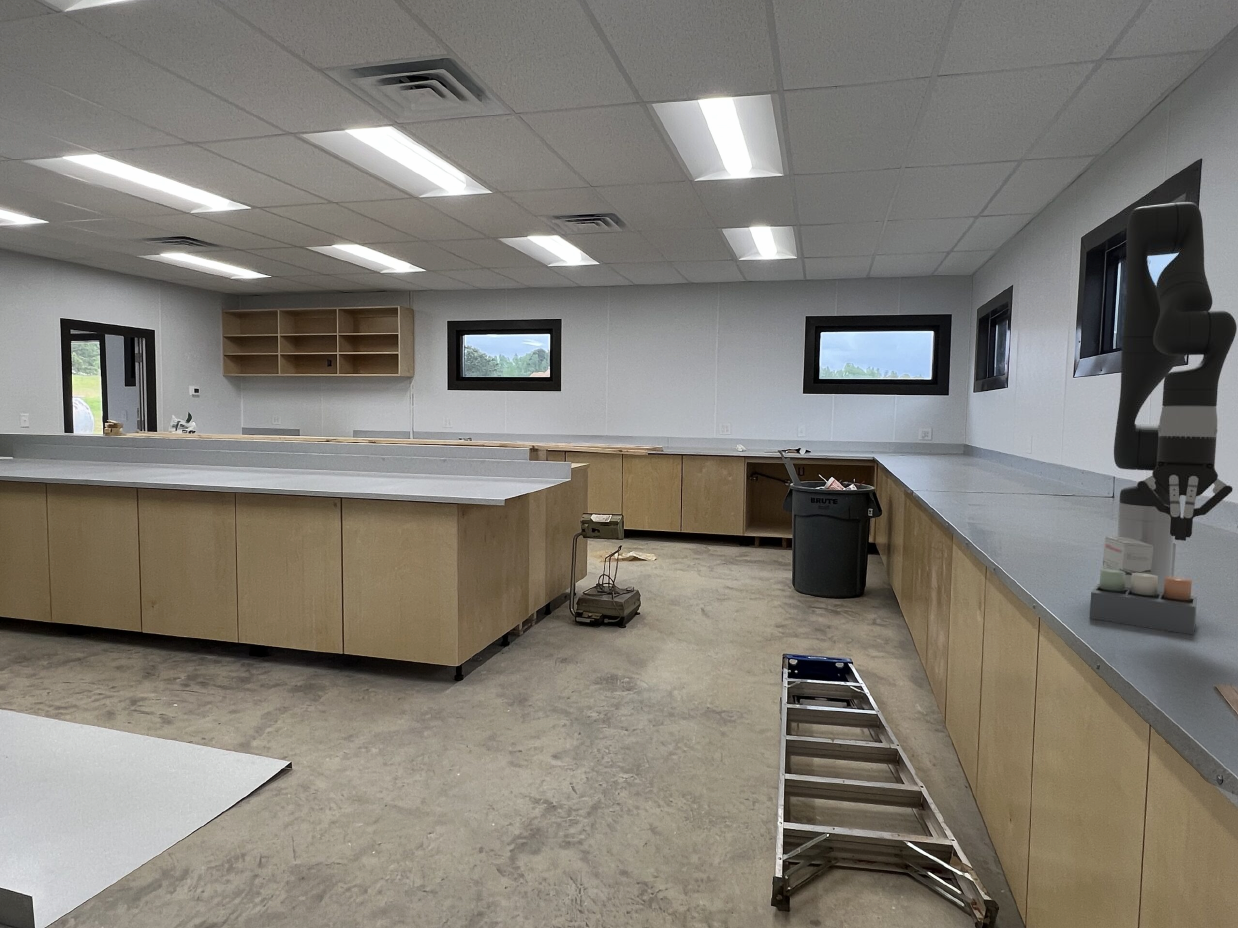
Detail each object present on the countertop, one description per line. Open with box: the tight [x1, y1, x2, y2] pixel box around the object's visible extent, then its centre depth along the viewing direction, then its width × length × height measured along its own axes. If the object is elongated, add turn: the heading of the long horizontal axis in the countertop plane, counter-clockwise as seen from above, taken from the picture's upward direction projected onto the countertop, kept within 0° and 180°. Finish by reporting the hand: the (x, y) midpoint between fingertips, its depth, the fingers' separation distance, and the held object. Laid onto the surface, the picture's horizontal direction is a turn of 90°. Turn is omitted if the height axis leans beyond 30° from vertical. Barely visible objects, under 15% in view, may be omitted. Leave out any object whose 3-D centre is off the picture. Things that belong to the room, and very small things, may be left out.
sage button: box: [1099, 568, 1125, 591], centre depth 127 cm, size 4×4×3 cm
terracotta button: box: [1163, 576, 1193, 600], centre depth 121 cm, size 4×4×3 cm
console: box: [1089, 583, 1198, 635], centre depth 125 cm, size 9×14×4 cm, turn 50°
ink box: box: [1101, 535, 1153, 588], centre depth 137 cm, size 9×5×12 cm, turn 168°
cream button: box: [1131, 573, 1158, 595], centre depth 124 cm, size 4×4×3 cm
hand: (1180, 539), depth 121 cm, fingers closed
